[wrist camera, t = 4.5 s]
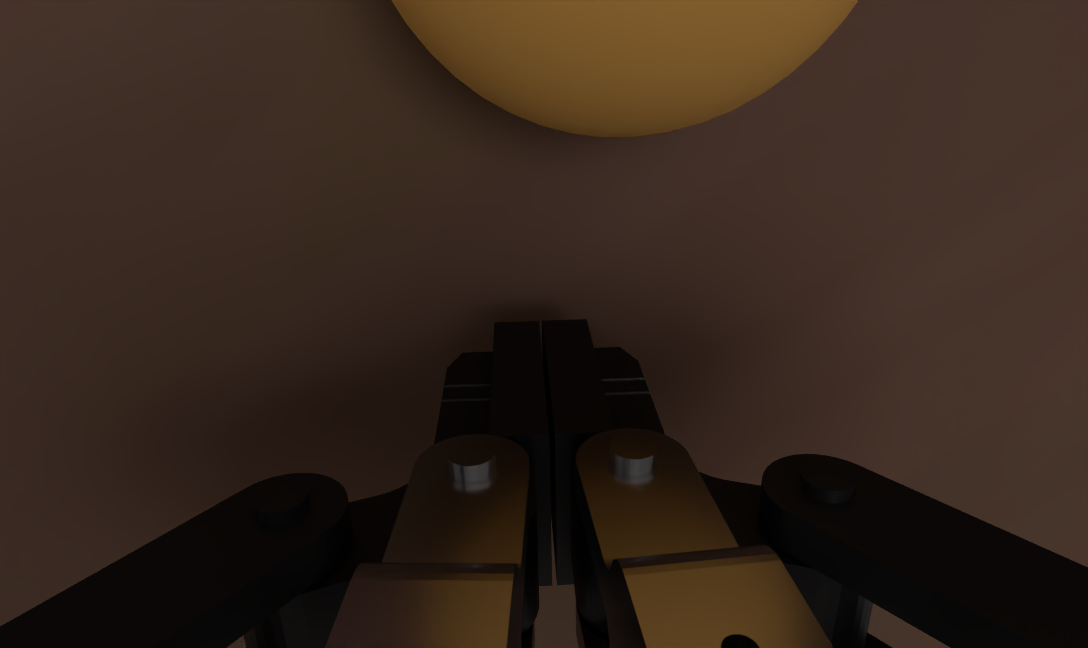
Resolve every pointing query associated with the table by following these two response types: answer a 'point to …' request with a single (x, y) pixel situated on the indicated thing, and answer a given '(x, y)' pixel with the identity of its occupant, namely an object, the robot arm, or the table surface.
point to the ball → (621, 55)
